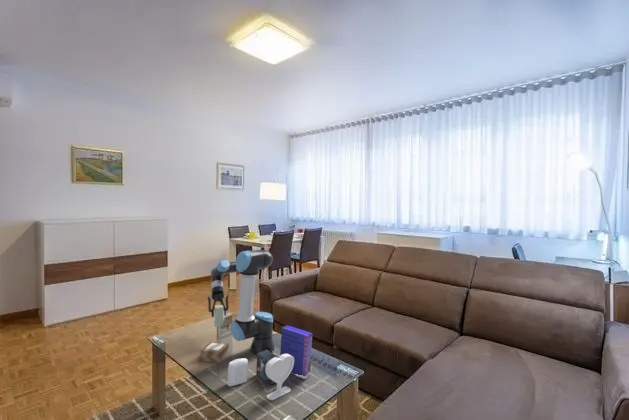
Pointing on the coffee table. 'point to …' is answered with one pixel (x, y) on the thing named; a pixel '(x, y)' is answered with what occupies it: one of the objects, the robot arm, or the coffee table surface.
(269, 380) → the small box
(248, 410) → the coffee table surface
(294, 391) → the coffee table surface
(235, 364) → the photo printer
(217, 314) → the sage block
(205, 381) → the coffee table surface
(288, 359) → the heart sculpture
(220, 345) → the walnut riser block
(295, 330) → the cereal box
